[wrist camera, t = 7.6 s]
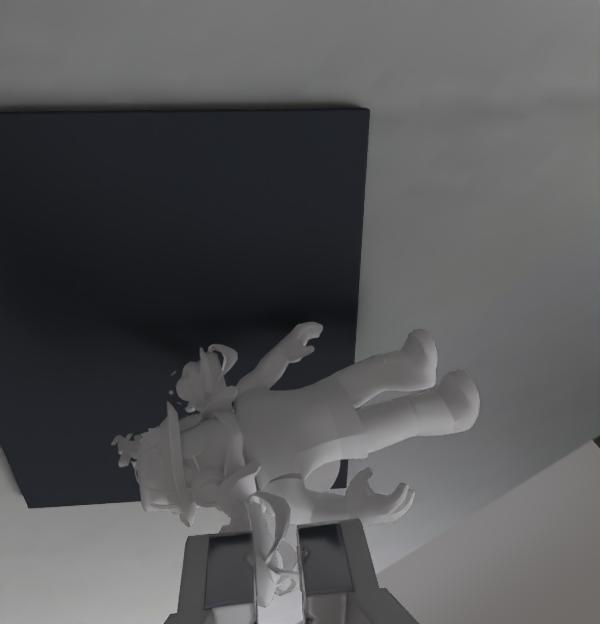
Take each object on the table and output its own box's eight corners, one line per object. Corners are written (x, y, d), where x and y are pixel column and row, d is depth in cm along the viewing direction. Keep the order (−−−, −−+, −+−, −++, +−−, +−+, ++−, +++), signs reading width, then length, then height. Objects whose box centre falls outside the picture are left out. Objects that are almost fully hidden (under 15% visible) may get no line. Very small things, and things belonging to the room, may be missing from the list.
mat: (366, 107, 15) (370, 109, 15) (344, 479, 24) (346, 488, 23) (-129, 112, 14) (-144, 114, 14) (33, 498, 23) (28, 509, 22)
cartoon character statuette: (381, 341, 21) (116, 417, 18) (388, 272, 18) (83, 348, 16) (513, 520, 14) (128, 683, 11) (551, 450, 12) (72, 637, 9)
